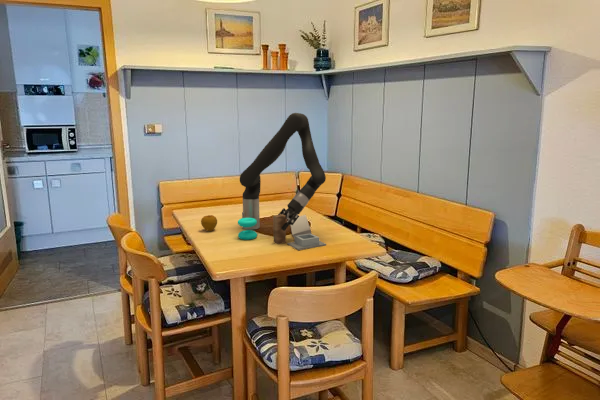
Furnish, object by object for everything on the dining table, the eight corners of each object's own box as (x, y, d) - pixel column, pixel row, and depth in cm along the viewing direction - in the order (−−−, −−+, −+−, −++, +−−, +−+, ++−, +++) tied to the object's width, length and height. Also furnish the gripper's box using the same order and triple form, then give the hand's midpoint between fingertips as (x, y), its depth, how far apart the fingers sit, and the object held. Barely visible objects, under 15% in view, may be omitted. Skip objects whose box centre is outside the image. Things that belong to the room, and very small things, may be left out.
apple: (209, 227, 261) (209, 212, 259) (221, 230, 256) (220, 214, 254) (198, 231, 254) (197, 215, 252) (209, 233, 249) (208, 217, 247)
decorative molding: (294, 243, 242) (312, 237, 242) (292, 234, 241) (310, 229, 241) (291, 226, 275) (307, 222, 275) (289, 219, 274) (305, 214, 274)
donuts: (243, 216, 245) (260, 217, 242) (243, 234, 247) (260, 236, 244) (234, 220, 236) (251, 222, 233) (234, 239, 238) (252, 241, 235)
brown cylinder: (277, 244, 230) (276, 217, 227) (273, 242, 233) (273, 215, 230) (285, 242, 232) (285, 215, 229) (282, 240, 236) (282, 214, 233)
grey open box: (298, 250, 220) (298, 241, 219) (287, 244, 229) (287, 236, 228) (326, 245, 228) (326, 237, 227) (314, 240, 237) (314, 231, 236)
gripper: (287, 196, 238) (267, 220, 235) (300, 200, 226) (280, 226, 223) (296, 205, 242) (277, 229, 239) (310, 210, 230) (290, 235, 226)
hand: (278, 227), depth 231 cm, fingers open, 8 cm apart
